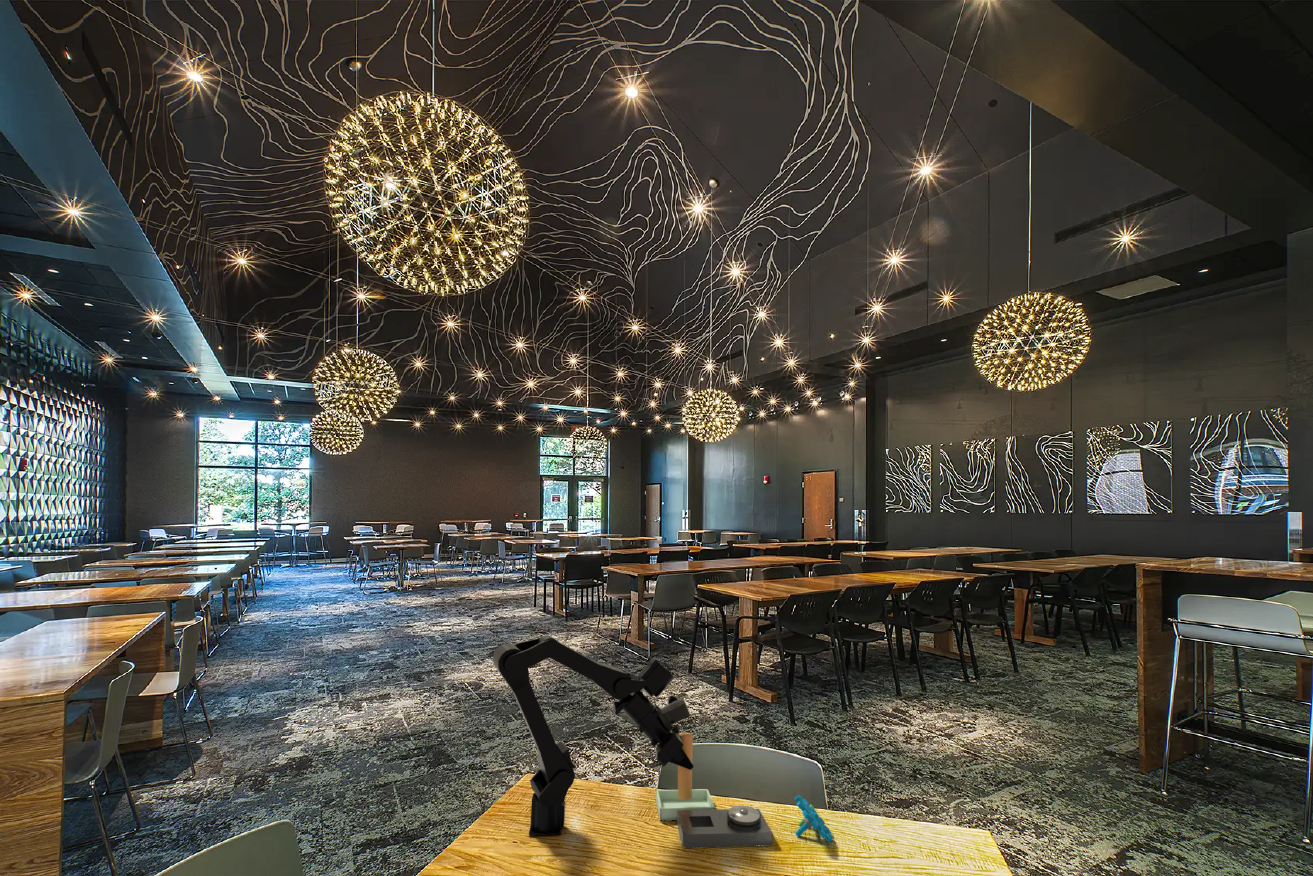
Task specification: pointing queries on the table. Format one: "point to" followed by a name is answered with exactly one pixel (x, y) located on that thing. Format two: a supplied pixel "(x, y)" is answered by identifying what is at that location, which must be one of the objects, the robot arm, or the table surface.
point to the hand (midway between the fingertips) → (691, 764)
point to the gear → (811, 820)
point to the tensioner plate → (723, 827)
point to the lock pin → (685, 769)
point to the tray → (681, 803)
